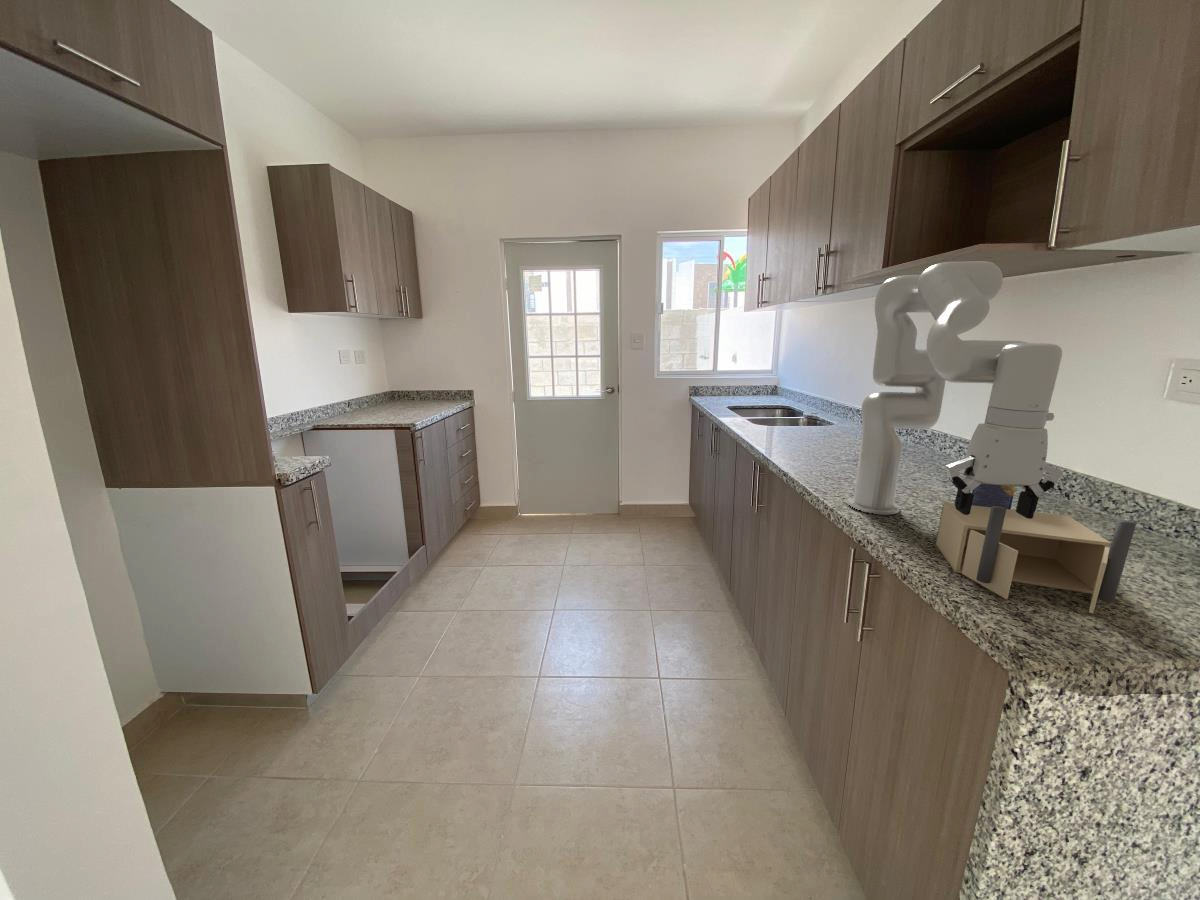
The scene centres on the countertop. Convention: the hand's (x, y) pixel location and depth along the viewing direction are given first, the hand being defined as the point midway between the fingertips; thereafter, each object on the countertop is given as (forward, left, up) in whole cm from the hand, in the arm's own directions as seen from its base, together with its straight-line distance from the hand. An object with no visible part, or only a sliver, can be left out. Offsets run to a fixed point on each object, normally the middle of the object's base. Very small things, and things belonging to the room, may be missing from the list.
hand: (992, 513), depth 81 cm
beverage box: (-29, +10, -15) cm, 34 cm away
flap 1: (0, 0, -14) cm, 14 cm away
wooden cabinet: (-13, +9, -15) cm, 21 cm away
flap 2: (0, +17, -14) cm, 22 cm away
